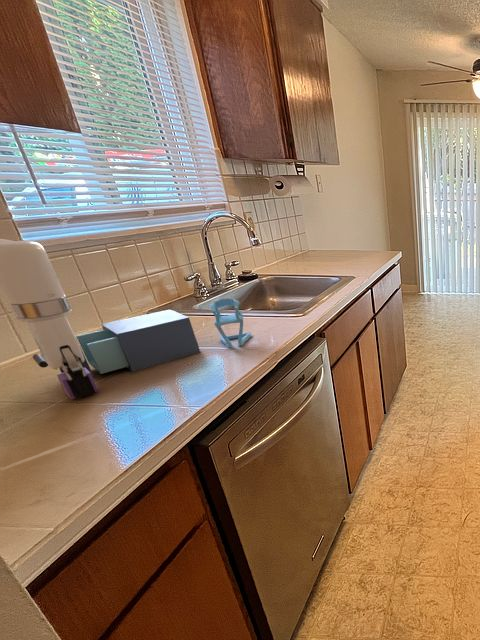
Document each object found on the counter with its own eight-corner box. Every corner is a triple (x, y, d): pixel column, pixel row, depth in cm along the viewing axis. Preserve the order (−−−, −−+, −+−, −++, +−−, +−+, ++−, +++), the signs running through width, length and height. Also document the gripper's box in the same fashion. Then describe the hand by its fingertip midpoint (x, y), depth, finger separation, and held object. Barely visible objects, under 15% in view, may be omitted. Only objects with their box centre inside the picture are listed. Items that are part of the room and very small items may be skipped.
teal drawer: (52, 390, 85) (35, 356, 82) (41, 376, 91) (25, 345, 88) (159, 359, 99) (147, 330, 96) (143, 349, 105) (132, 321, 102)
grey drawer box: (132, 371, 95) (116, 334, 91) (116, 359, 102) (100, 324, 98) (200, 351, 105) (188, 317, 101) (181, 342, 112) (170, 309, 108)
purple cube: (71, 399, 81) (61, 380, 80) (66, 393, 84) (56, 374, 82) (99, 391, 85) (90, 372, 83) (93, 385, 87) (84, 367, 85)
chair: (219, 350, 106) (205, 306, 101) (220, 340, 113) (207, 299, 108) (251, 344, 110) (240, 302, 105) (251, 335, 116) (240, 295, 111)
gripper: (6, 305, 78) (48, 387, 86) (22, 321, 69) (68, 411, 77) (59, 297, 84) (94, 374, 91) (79, 311, 75) (117, 396, 82)
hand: (81, 390), depth 84 cm, fingers closed on purple cube, 4 cm apart
